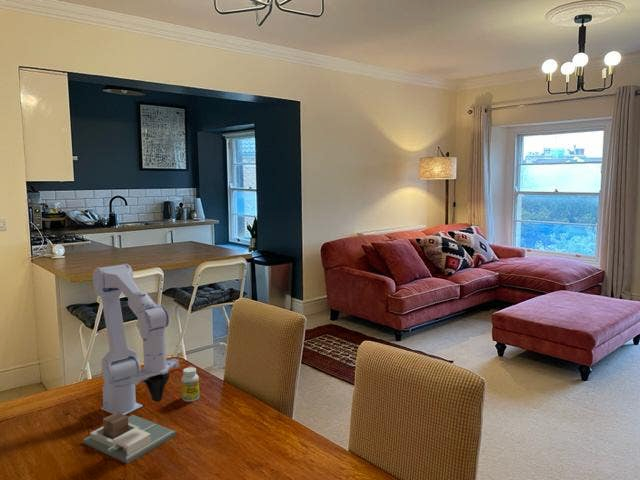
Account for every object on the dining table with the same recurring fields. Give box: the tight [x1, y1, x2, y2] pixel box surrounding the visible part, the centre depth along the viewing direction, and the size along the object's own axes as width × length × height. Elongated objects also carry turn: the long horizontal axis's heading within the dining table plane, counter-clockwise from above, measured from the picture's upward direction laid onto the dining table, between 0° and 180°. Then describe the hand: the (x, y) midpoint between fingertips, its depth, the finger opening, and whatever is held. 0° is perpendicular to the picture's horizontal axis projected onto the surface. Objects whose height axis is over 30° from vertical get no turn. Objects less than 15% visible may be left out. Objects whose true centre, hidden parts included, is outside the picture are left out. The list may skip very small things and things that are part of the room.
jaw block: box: [102, 412, 129, 440], centre depth 136 cm, size 4×4×6 cm
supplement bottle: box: [180, 367, 200, 403], centre depth 160 cm, size 5×5×10 cm
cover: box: [113, 428, 151, 456], centre depth 131 cm, size 6×7×3 cm
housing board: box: [82, 414, 177, 465], centre depth 136 cm, size 18×16×2 cm
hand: (156, 400), depth 136 cm, fingers closed
